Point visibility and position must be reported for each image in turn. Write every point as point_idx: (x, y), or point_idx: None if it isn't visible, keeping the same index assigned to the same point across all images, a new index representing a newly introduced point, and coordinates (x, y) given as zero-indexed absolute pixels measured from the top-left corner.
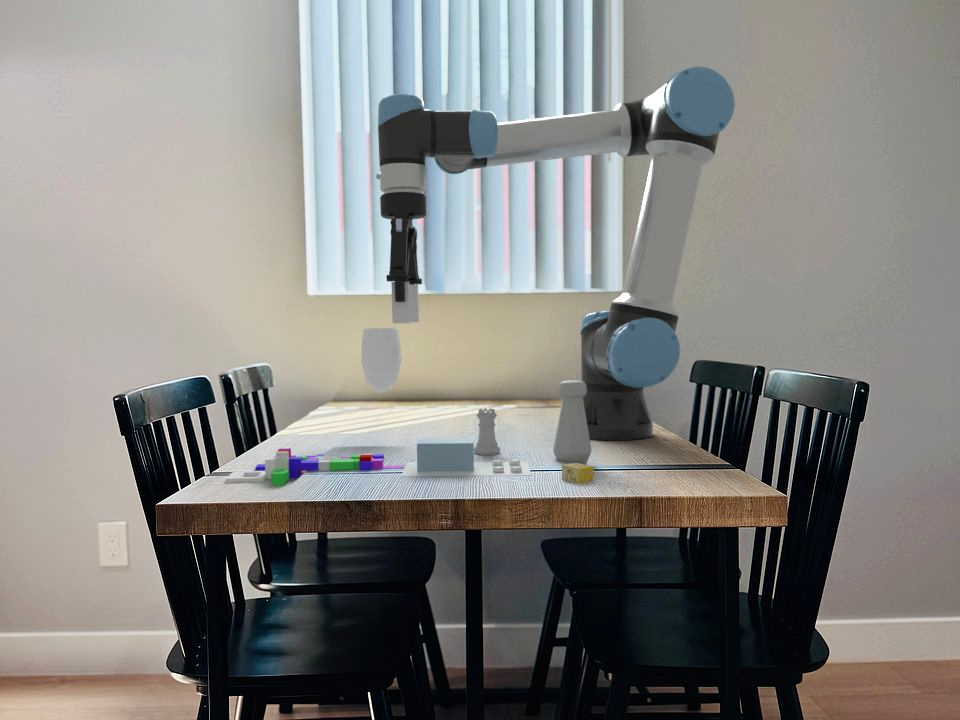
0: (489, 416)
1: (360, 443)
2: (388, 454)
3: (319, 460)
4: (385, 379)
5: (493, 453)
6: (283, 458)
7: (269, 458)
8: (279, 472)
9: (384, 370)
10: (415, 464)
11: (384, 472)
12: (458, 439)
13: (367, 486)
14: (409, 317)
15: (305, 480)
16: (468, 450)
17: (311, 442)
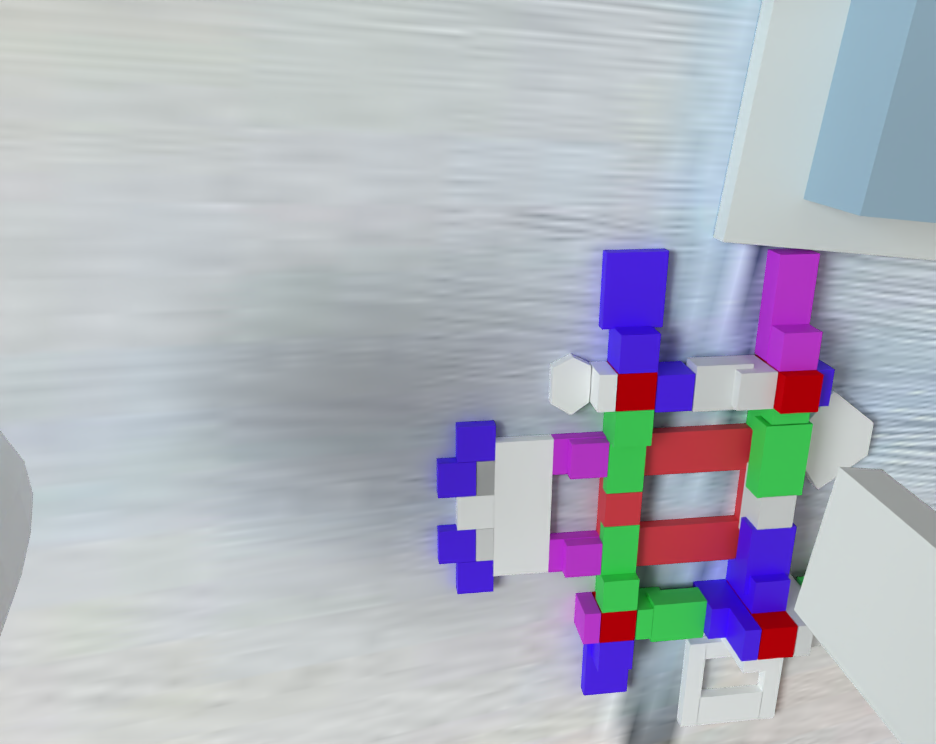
0: None
1: (107, 447)
2: (397, 317)
3: (762, 528)
4: (21, 472)
5: None
6: None
7: (760, 663)
8: None
9: (14, 506)
10: (769, 213)
11: (745, 315)
12: (920, 44)
13: (932, 353)
14: (915, 498)
15: (798, 530)
16: None
17: (78, 632)
